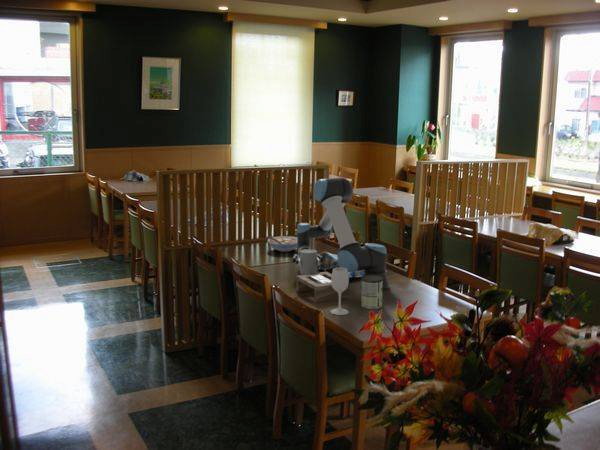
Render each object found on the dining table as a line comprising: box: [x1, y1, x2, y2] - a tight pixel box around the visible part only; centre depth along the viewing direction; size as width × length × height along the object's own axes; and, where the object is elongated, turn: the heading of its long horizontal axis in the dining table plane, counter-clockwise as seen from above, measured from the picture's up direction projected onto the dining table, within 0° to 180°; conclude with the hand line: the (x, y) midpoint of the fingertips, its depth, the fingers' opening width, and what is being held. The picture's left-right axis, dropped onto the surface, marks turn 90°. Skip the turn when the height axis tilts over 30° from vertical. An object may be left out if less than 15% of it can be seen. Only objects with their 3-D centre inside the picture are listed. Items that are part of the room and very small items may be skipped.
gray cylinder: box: [299, 248, 318, 275], centre depth 346 cm, size 10×10×12 cm
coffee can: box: [360, 275, 383, 310], centre depth 306 cm, size 10×10×14 cm
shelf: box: [295, 271, 349, 303], centre depth 325 cm, size 22×18×8 cm
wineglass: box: [329, 266, 350, 316], centre depth 296 cm, size 9×9×21 cm
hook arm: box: [310, 275, 331, 284], centre depth 324 cm, size 15×6×2 cm, turn 27°
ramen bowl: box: [266, 235, 298, 253], centre depth 416 cm, size 25×23×8 cm
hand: (309, 263), depth 341 cm, fingers closed on gray cylinder, 9 cm apart
